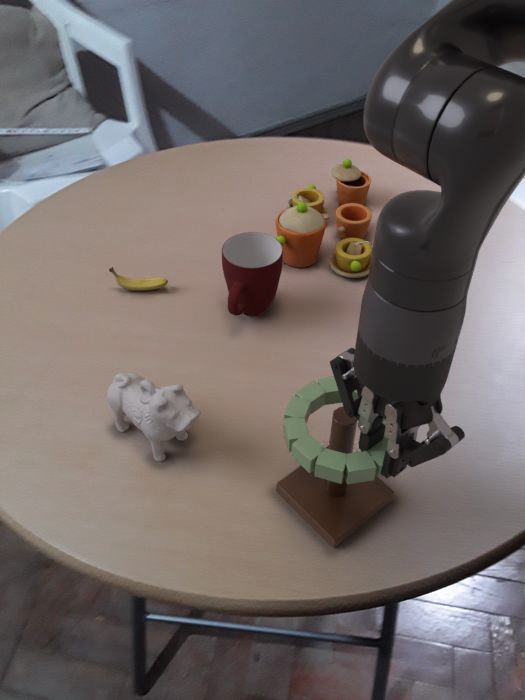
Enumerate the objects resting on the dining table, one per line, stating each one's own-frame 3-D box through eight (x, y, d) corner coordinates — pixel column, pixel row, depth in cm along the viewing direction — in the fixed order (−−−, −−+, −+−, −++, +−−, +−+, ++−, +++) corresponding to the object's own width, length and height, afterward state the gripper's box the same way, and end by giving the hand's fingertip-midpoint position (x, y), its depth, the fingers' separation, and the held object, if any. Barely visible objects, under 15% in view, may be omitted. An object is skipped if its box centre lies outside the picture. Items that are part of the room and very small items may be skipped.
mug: (267, 343, 91) (267, 285, 84) (210, 331, 92) (206, 273, 85) (287, 294, 98) (289, 237, 91) (234, 284, 100) (232, 227, 93)
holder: (334, 448, 78) (345, 367, 69) (393, 499, 74) (413, 420, 64) (275, 491, 74) (278, 411, 65) (333, 548, 69) (345, 471, 60)
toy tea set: (376, 287, 99) (385, 232, 92) (271, 279, 100) (272, 224, 94) (375, 191, 118) (382, 140, 111) (286, 186, 119) (288, 134, 112)
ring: (343, 372, 72) (345, 359, 71) (428, 438, 66) (432, 425, 64) (260, 427, 67) (260, 414, 65) (344, 505, 60) (346, 493, 59)
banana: (111, 293, 98) (107, 271, 95) (113, 286, 99) (109, 264, 96) (168, 294, 98) (165, 272, 95) (169, 286, 99) (167, 264, 96)
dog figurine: (183, 482, 75) (176, 421, 68) (105, 424, 81) (90, 362, 73) (215, 451, 78) (211, 390, 71) (138, 398, 84) (126, 336, 76)
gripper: (515, 353, 49) (465, 488, 62) (375, 264, 57) (355, 400, 69) (449, 404, 46) (410, 536, 58) (309, 302, 53) (300, 438, 66)
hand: (380, 462), depth 64 cm, fingers closed on ring, 2 cm apart
